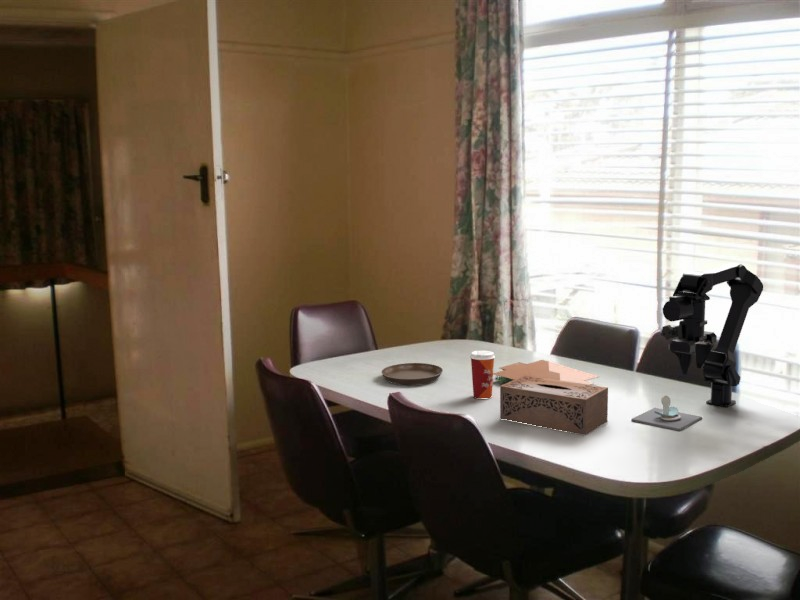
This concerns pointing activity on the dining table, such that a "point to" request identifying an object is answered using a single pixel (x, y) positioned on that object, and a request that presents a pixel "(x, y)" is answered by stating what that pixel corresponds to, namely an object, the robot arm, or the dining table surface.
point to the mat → (656, 420)
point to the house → (544, 372)
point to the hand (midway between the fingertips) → (692, 371)
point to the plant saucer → (412, 373)
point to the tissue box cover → (554, 404)
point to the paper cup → (482, 373)
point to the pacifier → (666, 414)
